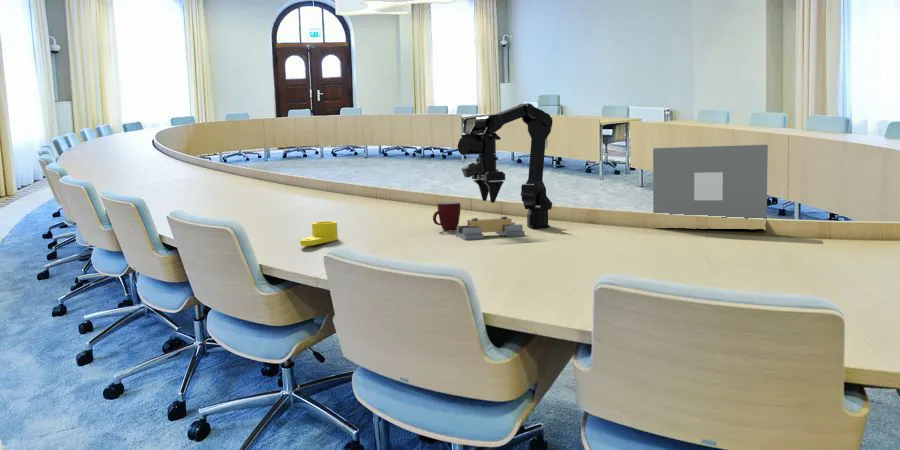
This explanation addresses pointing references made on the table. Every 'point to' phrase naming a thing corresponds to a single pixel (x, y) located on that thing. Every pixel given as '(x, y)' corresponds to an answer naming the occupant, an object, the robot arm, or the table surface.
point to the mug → (448, 215)
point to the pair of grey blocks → (477, 234)
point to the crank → (321, 233)
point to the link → (490, 224)
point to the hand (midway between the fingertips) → (488, 201)
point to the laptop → (711, 181)
